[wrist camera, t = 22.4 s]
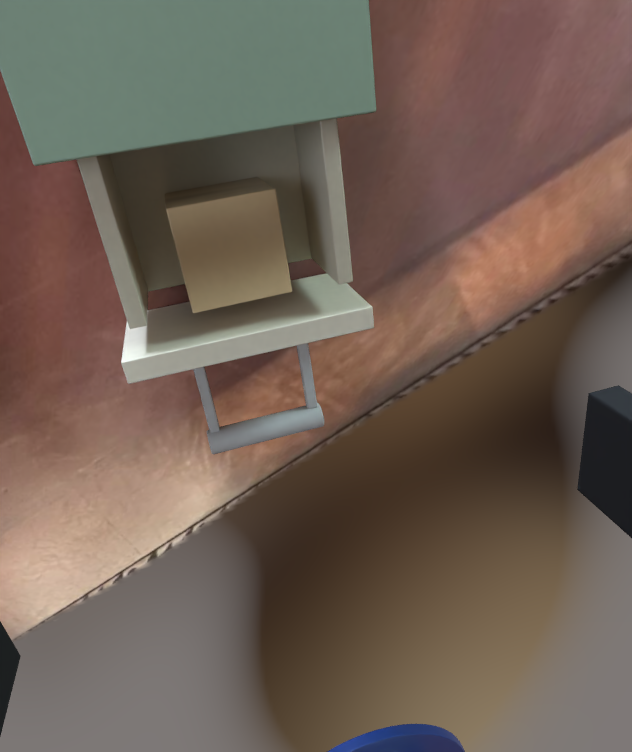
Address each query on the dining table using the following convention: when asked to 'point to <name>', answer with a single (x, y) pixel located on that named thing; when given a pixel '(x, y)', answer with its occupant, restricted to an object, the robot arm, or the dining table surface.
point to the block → (229, 242)
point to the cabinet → (178, 70)
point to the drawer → (244, 320)
